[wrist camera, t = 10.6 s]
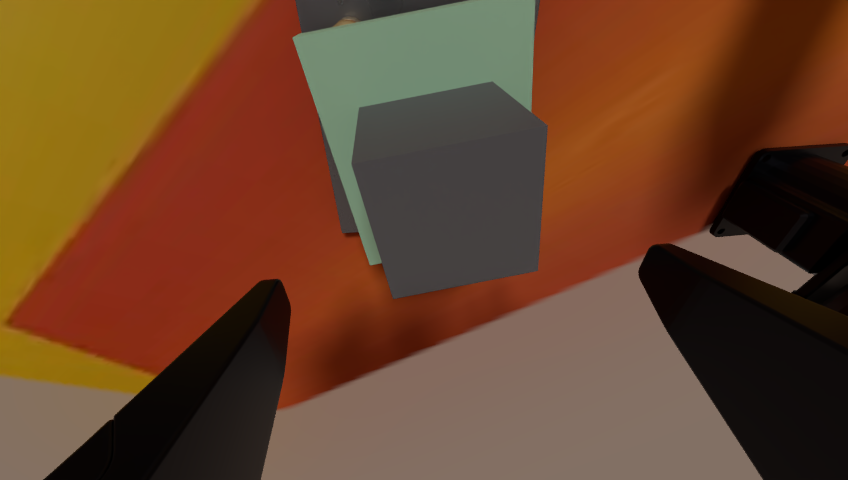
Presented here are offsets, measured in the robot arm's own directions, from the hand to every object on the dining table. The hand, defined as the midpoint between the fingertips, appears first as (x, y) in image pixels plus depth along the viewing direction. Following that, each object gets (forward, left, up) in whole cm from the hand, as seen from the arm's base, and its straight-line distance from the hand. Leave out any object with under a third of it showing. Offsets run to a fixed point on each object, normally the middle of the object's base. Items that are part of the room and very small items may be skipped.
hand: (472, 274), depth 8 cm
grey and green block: (0, 0, -8) cm, 8 cm away
